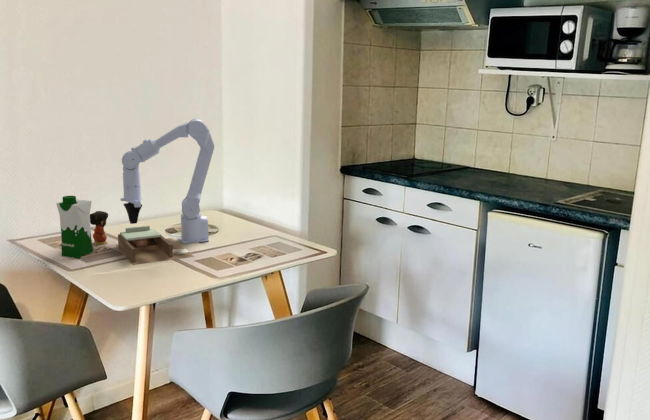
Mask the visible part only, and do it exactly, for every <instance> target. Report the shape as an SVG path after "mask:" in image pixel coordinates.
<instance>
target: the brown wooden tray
mask: <svg viewBox="0 0 650 420" xmlns="http://www.w3.org/2000/svg"><path fill="white" fill-rule="evenodd" d="M117 241H118V242H117V244H115V247H116V248H118V250H119V251H120V252H121V254H122V255H124V257H125V258H126V259H127V260H128V261H129V262H130V264H131V265H133V266H137V265H142V264H150V263H151V264H152V263H157V262H164V261H166V262H167V261H171V260H172V261H173V260H180V259H187V258H193V257H194V258H195V255H193V254H192V253H191V252H190V251H189V250H188V249H186V248H185V247H183V245H181V244H180V243H178V242H177V241H176V240H174V239H173V238H172V237H171V238H166V237H164V236H163V235H162V234H161V237H155V238H148V246H145V247H137V248H134V241H133V240H129V241H126V240H125V239H124V238H123V237H122V236H121V235H120V233H119V234H117Z"/></svg>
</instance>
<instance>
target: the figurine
mask: <svg viewBox="0 0 650 420" xmlns="http://www.w3.org/2000/svg"><path fill="white" fill-rule="evenodd" d="M108 218H109V213H108V212H106V211H102V210H97V211H95V212H92V213H90V225H92V226H95V227H94V230H93V232H94V233H93V234H92V238H93V244H94V245H95V246H104V245H107V244H108V242H107V237H108V236H107V235H106V231H105V229H104V228H105V227H106V225H107V219H108Z"/></svg>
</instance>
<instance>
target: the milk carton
mask: <svg viewBox="0 0 650 420" xmlns="http://www.w3.org/2000/svg"><path fill="white" fill-rule="evenodd" d="M55 204H56V207H57V208H56V209H57V211H58V214H59V222H60V223H59V224H60V226H59V227H60V238H61V240H60V241H61V256H62V257H66V258H73V259H82V258H81V257H83V256H86V255H89V254H91V253H94V246H93V241H92V229H91V228H92V227H91V223H90V214H91V208H92V200H86V199H77V196H75V195H65V196H62V201H60V202H56V203H55Z"/></svg>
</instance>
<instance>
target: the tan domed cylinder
mask: <svg viewBox="0 0 650 420" xmlns="http://www.w3.org/2000/svg"><path fill="white" fill-rule="evenodd" d="M133 241H134V248H137V247H145V246H148V238H146V239H137V240H133Z"/></svg>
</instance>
